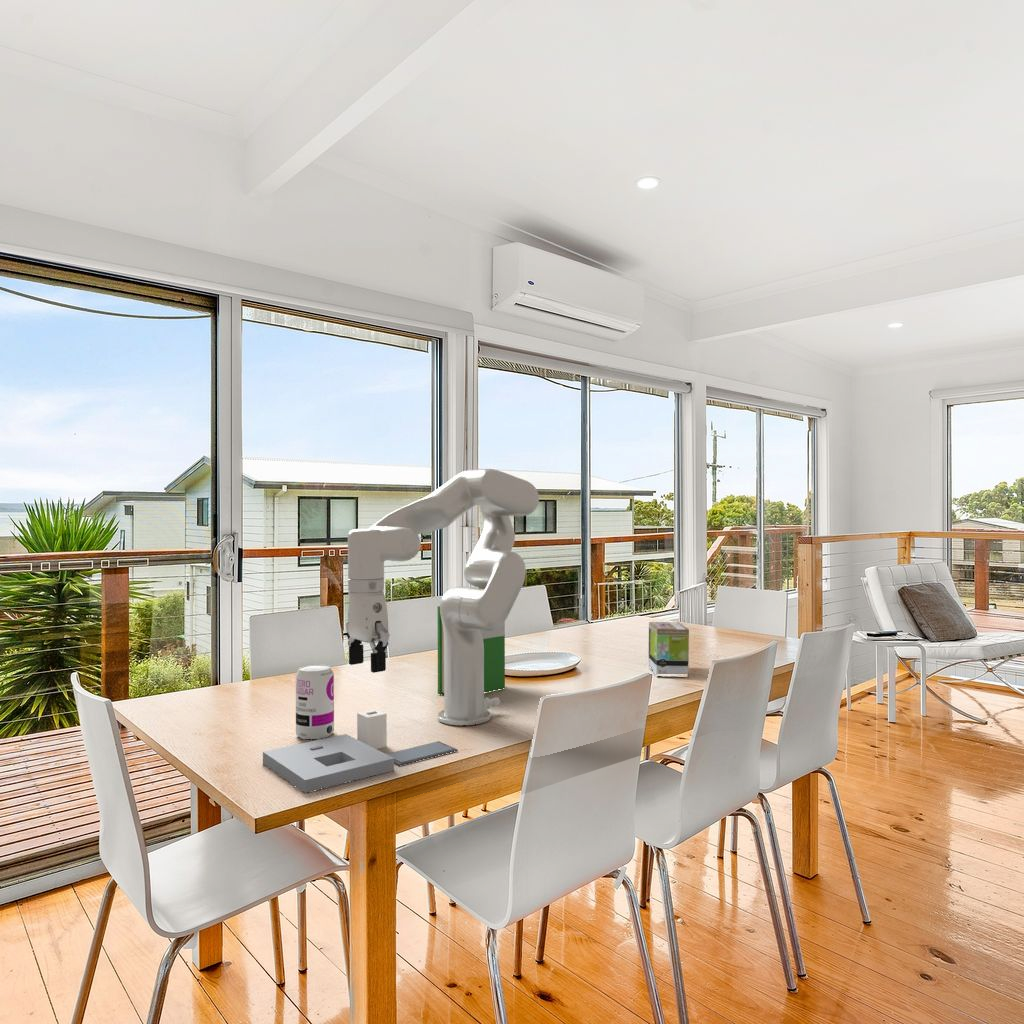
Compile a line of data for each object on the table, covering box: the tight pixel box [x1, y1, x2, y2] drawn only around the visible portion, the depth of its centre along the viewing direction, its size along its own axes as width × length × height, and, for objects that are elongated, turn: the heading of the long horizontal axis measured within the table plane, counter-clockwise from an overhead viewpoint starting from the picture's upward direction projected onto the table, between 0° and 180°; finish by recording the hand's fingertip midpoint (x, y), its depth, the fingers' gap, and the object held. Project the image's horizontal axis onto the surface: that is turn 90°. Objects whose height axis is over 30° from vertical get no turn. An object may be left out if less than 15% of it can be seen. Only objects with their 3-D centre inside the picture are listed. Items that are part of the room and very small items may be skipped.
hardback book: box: [437, 605, 506, 695], centre depth 203 cm, size 18×7×24 cm, turn 131°
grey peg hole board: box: [262, 733, 395, 794], centre depth 144 cm, size 18×20×3 cm
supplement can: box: [295, 664, 335, 741], centre depth 165 cm, size 8×8×15 cm
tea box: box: [647, 621, 690, 676], centre depth 228 cm, size 15×10×15 cm
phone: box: [386, 740, 459, 767], centre depth 152 cm, size 14×7×1 cm, turn 129°
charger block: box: [356, 708, 388, 750], centre depth 157 cm, size 4×4×7 cm
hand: (367, 667), depth 157 cm, fingers open, 9 cm apart
